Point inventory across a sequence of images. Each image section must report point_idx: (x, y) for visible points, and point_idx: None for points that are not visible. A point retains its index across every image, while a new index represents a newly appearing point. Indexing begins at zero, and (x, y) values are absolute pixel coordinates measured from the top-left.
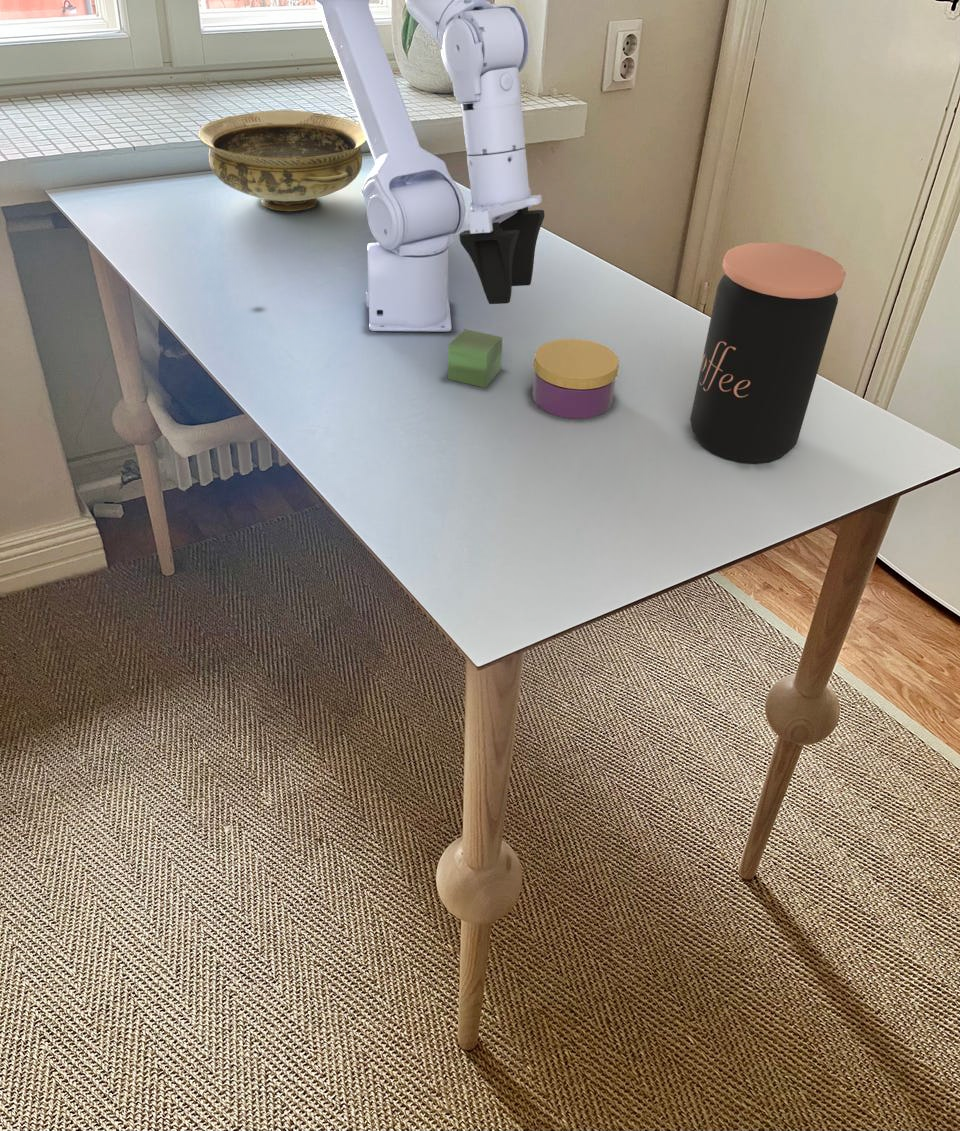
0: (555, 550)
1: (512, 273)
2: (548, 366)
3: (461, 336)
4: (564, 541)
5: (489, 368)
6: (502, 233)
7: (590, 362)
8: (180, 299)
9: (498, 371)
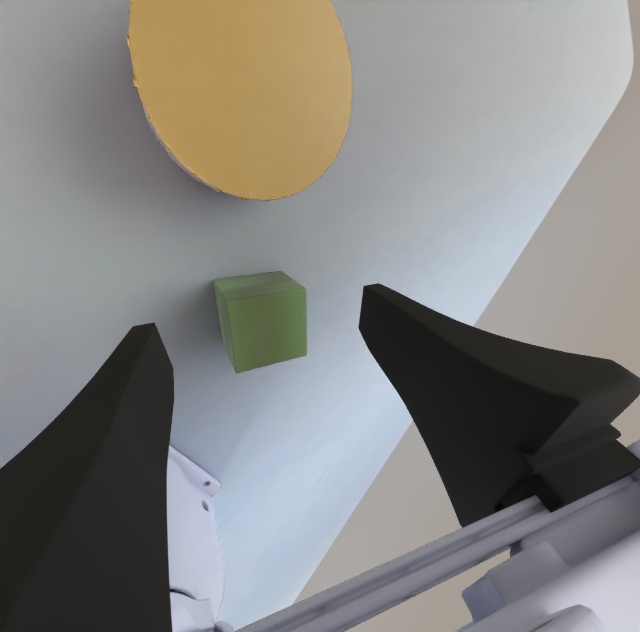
0: (554, 33)
1: (166, 392)
2: (328, 144)
3: (268, 359)
4: (543, 24)
5: (278, 280)
6: (604, 417)
7: (265, 30)
8: (269, 613)
9: (225, 278)
